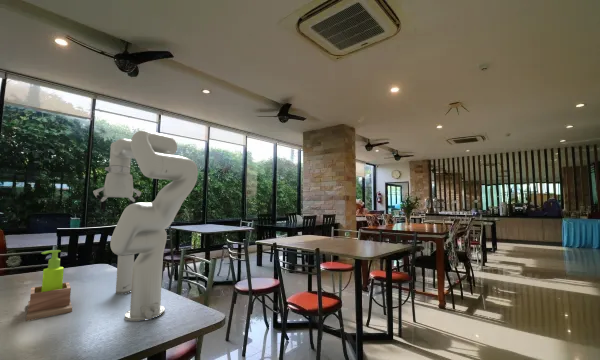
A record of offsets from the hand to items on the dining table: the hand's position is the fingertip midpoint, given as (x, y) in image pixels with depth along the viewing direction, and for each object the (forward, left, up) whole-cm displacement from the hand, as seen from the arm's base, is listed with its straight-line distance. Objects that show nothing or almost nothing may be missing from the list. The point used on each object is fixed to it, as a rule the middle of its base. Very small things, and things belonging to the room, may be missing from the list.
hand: (117, 211), depth 117 cm
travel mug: (+8, -6, -36) cm, 38 cm away
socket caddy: (+5, +19, -36) cm, 41 cm away
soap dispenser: (+5, +19, -35) cm, 40 cm away
